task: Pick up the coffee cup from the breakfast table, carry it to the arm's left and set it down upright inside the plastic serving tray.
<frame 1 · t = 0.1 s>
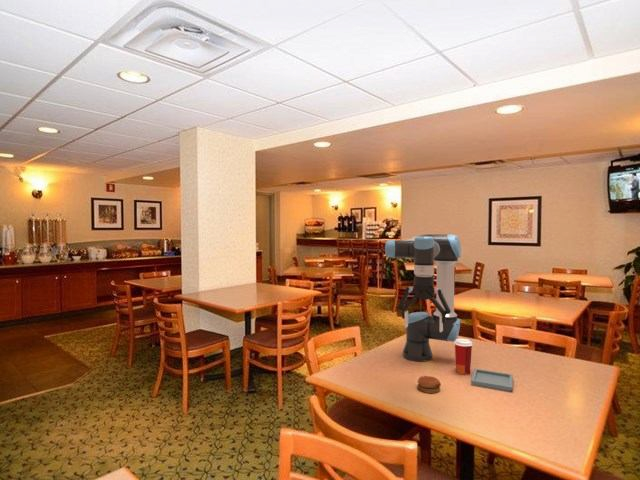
hand: (423, 329, 151), 28 cm above the table, fingers open, 13 cm apart
tray: (492, 381, 168), on the table
coffee cup: (462, 372, 180), on the table
burger: (428, 389, 161), on the table
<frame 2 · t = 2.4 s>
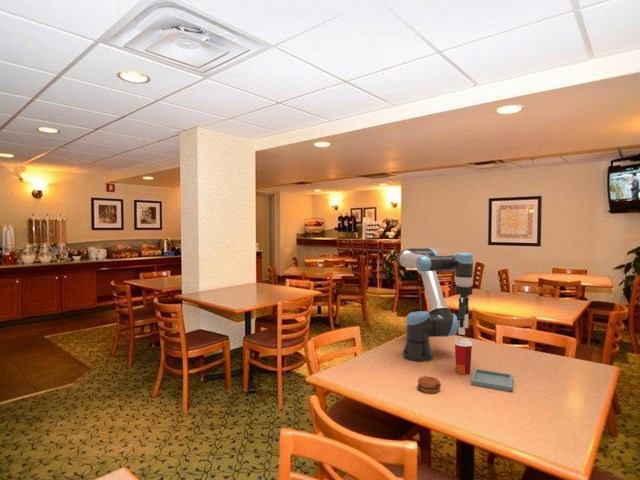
hand: (463, 330, 179), 20 cm above the table, fingers open, 13 cm apart
nothing on the table moved.
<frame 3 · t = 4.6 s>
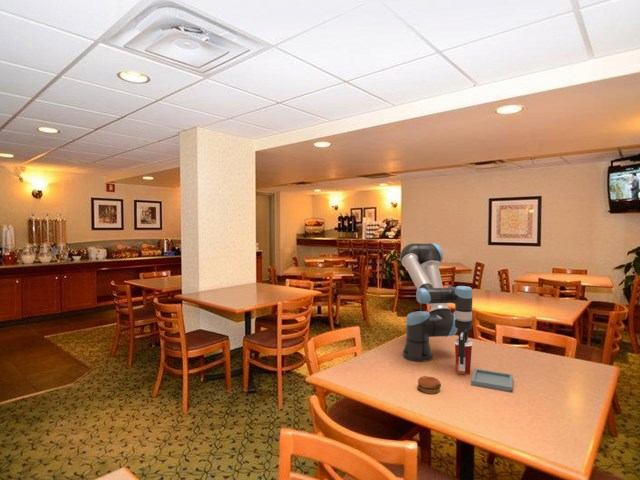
hand: (462, 367, 179), 2 cm above the table, fingers closed on coffee cup, 7 cm apart
coffee cup: (462, 372, 179), on the table, touching gripper
everything else where it was.
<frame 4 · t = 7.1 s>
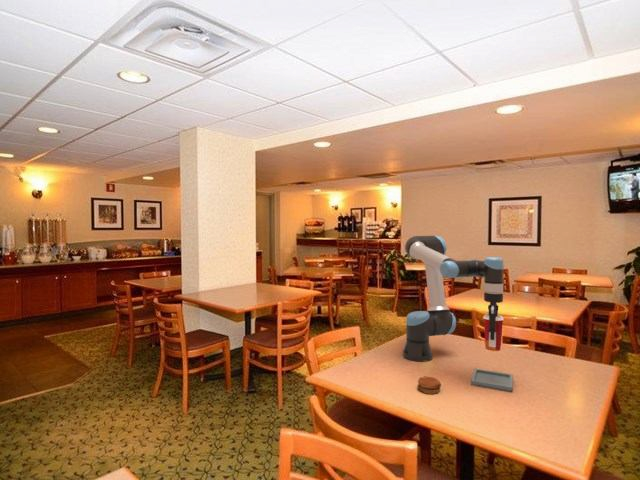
hand: (492, 344, 168), 17 cm above the table, fingers closed on coffee cup, 7 cm apart
coffee cup: (492, 349, 168), point 14 cm above the table, touching gripper
everything else where it was.
when the fingers open (4 cm above the table, at t = 10.1 s): coffee cup drops 1 cm, resting on tray.
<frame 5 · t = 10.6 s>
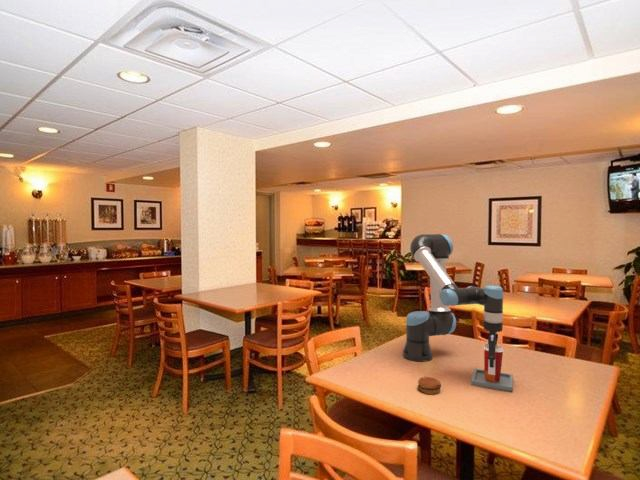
hand: (492, 369, 168), 6 cm above the table, fingers open, 13 cm apart
coffee cup: (491, 380, 168), point 1 cm above the table, touching tray
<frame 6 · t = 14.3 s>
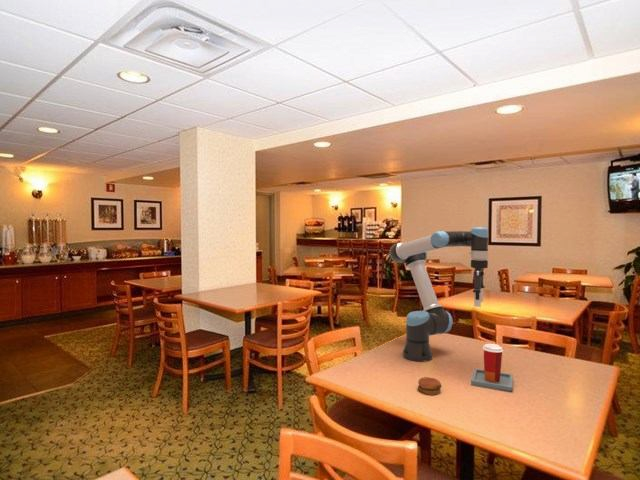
hand: (478, 303, 182), 32 cm above the table, fingers open, 13 cm apart
at the end: coffee cup inside the target area on the tray (0.4 cm from its centre), point 0.6 cm above the tray's base; coffee cup tilted 0°; the gripper is holding nothing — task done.
